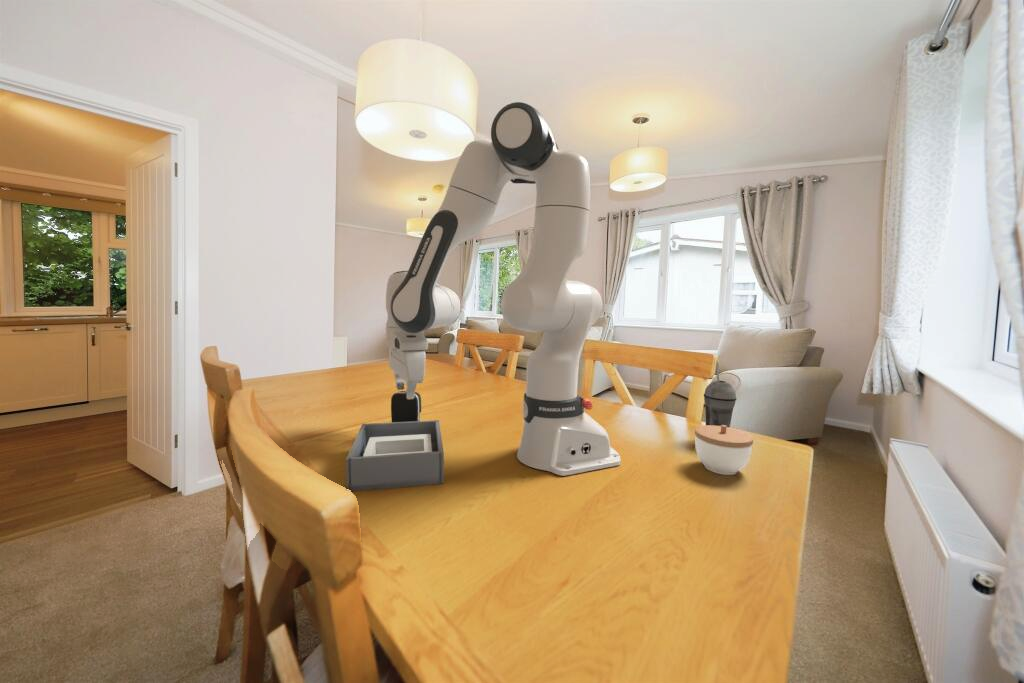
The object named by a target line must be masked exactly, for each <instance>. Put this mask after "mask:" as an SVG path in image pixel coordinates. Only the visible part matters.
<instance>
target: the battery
mask: <svg viewBox="0 0 1024 683" xmlns="http://www.w3.org/2000/svg"><path fill="white" fill-rule="evenodd" d="M405 391H406V390H405ZM405 391H403V390H401V391H398V392H395V393H393V394H392V395H391V399H390V415H391V418H390V419H391V422H411V421H420V414H421V412H422V396H421V394H420V393H418V392H416V391H415V394H414V399H407V398H406V397H405V395H406V394H405Z"/></svg>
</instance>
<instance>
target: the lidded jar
mask: <svg viewBox="0 0 1024 683" xmlns="http://www.w3.org/2000/svg"><path fill="white" fill-rule="evenodd" d="M694 435H695V436H694V445H695V452H696V455H697V457H698V460H699V461H700V462H701V463H702V464H703V465H704V468H705V469H706V470H708V471H710V472H712V473H715V474H719V475H723V476H734V475H736V474H738V472H739V471H741V470H742V469H744V468H745V466H747V465H748V463H749V461H750V457H751V454H752V449H753V443H754V437H753V436H752V435H750V434H749V433H747V432H746V431H743V430H740V429H737V428H733V427H730V428H729V427H727V426H726V425H721V426H714V425H706V424H705V425H699V426H697V427H696V428H695V430H694Z"/></svg>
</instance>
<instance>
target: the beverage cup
mask: <svg viewBox="0 0 1024 683" xmlns="http://www.w3.org/2000/svg"><path fill="white" fill-rule="evenodd" d="M715 368H716V380H714V381H711V383H709V384H708V385H707V386H706V388H705V390H704V393H703V399H704V404H705V405H704V406H705V407H704V408H705V426H706V425H714V426H721V425H726V426H727V427H729V428H731V421H732V417H733V411H734V408H735V405H736V402H737V399H738V398H737V394H736V391H735V388H734V387H733V386H732V384H730V383H729V382H728V381H725V380H720V368H719V363H718V362H717V363H715Z"/></svg>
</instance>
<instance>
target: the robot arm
mask: <svg viewBox="0 0 1024 683" xmlns="http://www.w3.org/2000/svg"><path fill="white" fill-rule="evenodd" d="M490 140H491V141H487V140H484V139H483V140H482V139H480V140H479V139H478V140H473V141H471V142H469V143H468V144H467V145H466V146H465V148H463V152H462V153H461V155H460V157H459V159H458V161H457V163H456V165H455V167H454V171H452V172H453V173H452V174H451V177H450V181H449V183H448V188H447V190H446V193H445V196H444V198H443V201H442V203H441V205H440V206H439V208H438V210H437V212H436V213H435V214H434V216H433V217H432V218H431V219H430V221H429V223H428V225H427V227H426V228H425V231H424V233H423V235H422V237H421V240H420V242H419V244H418V247H417V250H416V251H415V254H414V255H413V256H414V257H413V258H412V262H411V264H410V266H409V268H408V270H401V271H396V272H393V273H392V274H390V275H389V278H388V279H387V280H388V281H387V283H386V290H385V291H386V293H385V309H386V313H387V319H386V322H385V345H386V346H387V347H389V348H388V349H389V350H388V366H389V370H392V371H393V372H394V374H393V375H394V380H395V388H396V389H397V390H398V391H399V390H401V391H403V390H404V389H405V385H406V389H405V394H406V395H405V397H406V398H407V399H414V394H415V392H416V389H417V384H422V383H423V382H424V379H425V375H426V363H427V362H426V360H427V355H426V351H427V350H428V349H429V342H428V340H427V338H426V336H425V332H424V331H427V330H431V329H437V328H438V329H439V328H442V327H447V326H451V325H453V324H454V323H456V321H457V320H458V319H459V317H460V315H461V312H462V311H461V310H462V302H461V299H460V297H459V295H458V294H457V292H456V291H455V290H453V289H452V288H449V287H447V286H445V285H441V284H439V283H438V281H439V279H440V277H441V274H442V272H443V270H444V267H445V265H446V262H447V260H448V258H449V257H450V254H451V253H452V251H454V249H455V248H457V247H458V246H459V245H461V244H463V243H464V242H466V241H468V240H471V239H475V238H477V237H479V236H481V235H482V234H483V233H484V232H486V230H487V229H488V227H489V225H490V223H491V222H492V220H493V218H494V215H495V213H496V209H497V206H498V203H499V201H500V197H501V194H502V191H503V189H504V186H506V184H507V183H508V182H511V183H512V184H531V185H534V184H535V187H536V190H535V191H536V197H535V209H534V220H533V221H534V222H533V231H532V241H531V245H530V246H531V247H530V249H529V254H528V257H527V259H526V261H525V264H524V266H523V268H522V270H521V271H520V273H519V274H518V275H517V276H516V277H515V279H513V280H512V281H511V282H510V283H509V284H508V285H507V286H506V287H505V289H504V290H503V292H502V295H501V299H500V310H501V314H502V318H503V319H504V321H505V323H506V324H507V326H510V328H513V329H515V330H519V331H523V332H529V333H543V334H542V336H541V339H540V342H539V343H538V346H537V347H536V348H535V349H534V350H533V351H532V352H531V353H530V354H529V356H528V358H527V360H526V375H525V376H526V383H525V384H526V385H525V393H524V395H523V401H522V417H523V428H522V435H521V438H520V439H521V441H520V444H519V447H518V450H517V453H516V457H517V460H518V461H520V463H522V464H523V465H525V466H528V467H529V468H530V467H531V468H534V469H537V470H541V471H547V472H550V473H552V474H554V475H555V474H556V475H558V476H563V477H564V476H565V477H566V476H571V475H575V474H581V473H585V472H590V471H596V470H602V469H607V468H611V467H616V466H620V465H621V461H622V460H621V456H620V454H619V453H618V452H617V451H616V450H615V449H614V448H613V447H612V446H611V442H610V437H609V434H608V432H607V430H606V429H605V428H604V427H603V426H602V425H600V423H598V422H597V421H596V420H595V419H593V418H592V417H591V416H590V415H589V414H587V413H586V412H585V410H587V411H589V410H590V411H591V410H592V408H594V402H593V401H592V400H590V399H588V398H584V397H582V396H580V395H579V394H578V383H579V382H578V381H579V380H578V379H579V366H580V358H581V355H582V351H583V348H584V345H585V342H586V340H587V337H588V334H589V332H590V330H591V329H592V326H594V325H595V323H596V322H597V321H598V320H599V318H601V316H602V312H603V298H602V296H601V294H600V292H599V291H598V290H597V289H596V287H593V286H592V285H589V284H588V283H585V282H582V281H580V280H571V279H570V280H569V279H568V278H569V273H570V272H571V269H572V266H573V265H574V264H575V262H576V260H577V259H579V258H581V257H582V256H583V255H584V253H585V252H586V248H587V242H588V232H589V231H588V230H589V224H590V222H589V220H590V213H591V212H590V210H591V197H592V196H591V174H590V166H589V162H588V161H587V160H586V158H585V157H583V155H581V154H579V153H577V152H574V151H568V150H567V151H565V150H560V149H559V147H558V144H557V142H556V140H555V137H554V135H553V131H552V130H551V128H550V126H549V125H548V123H547V122H546V120H545V118H544V117H543V115H542V114H541V112H540V111H539V110H538V109H536V108H535V107H533V106H532V105H530V104H528V103H525V102H521V101H516V102H511V103H509V104H506V105H505V106H503V107H502V108H501V109H499V111H498V112H497V113H496V115H495V116H494V119H493V121H492V124H491V128H490Z"/></svg>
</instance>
